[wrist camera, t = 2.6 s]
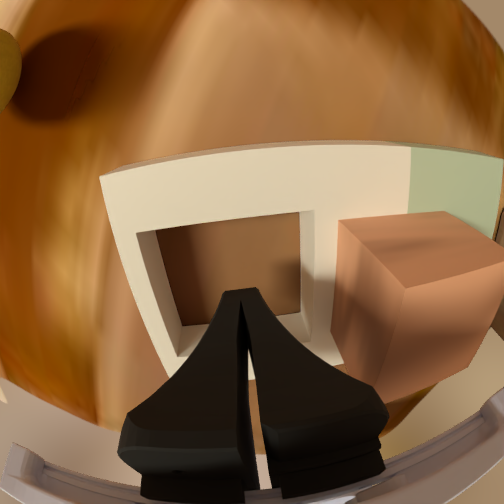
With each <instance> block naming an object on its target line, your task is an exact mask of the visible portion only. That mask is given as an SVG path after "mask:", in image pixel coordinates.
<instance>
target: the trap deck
mask: <svg viewBox="0 0 504 504" xmlns="http://www.w3.org/2000/svg"><path fill="white" fill-rule="evenodd" d="M502 174H503V159H500V158H497V157H494V156H491V155H488V154H484V153H481V152H477V151H472V150H466V149H460V148H453V147H445V146H437V145H428V144H418V143H406V142H391V141H368V140H316V141H292V142H276V143H263V144H252V145H242V146H233V147H225V148H217V149H210V150H203V151H196V152H190V153H184V154H178V155H173V156H167V157H162V158H157V159H152V160H147V161H142V162H138V163H133V164H129V165H125V166H121V167H119V168H117V169H115V170H112V171H110V172H108V173H106V174H104V175H102V176H100V182H101V187H102V191H103V196H104V200H105V204H106V208H107V212H108V216H109V220H110V224H111V227H112V231H113V234H114V238H115V241H116V245H117V248H118V251H119V254H120V258H121V261H122V264H123V267H124V270H125V273H126V276H127V279H128V282H129V284H130V287H131V290H132V293H133V295H134V298H135V301H136V303H137V306H138V308H139V311H140V314H141V316H142V318H143V321H144V323H145V326H146V328H147V331H148V333H149V335H150V337H151V340H152V342H153V344H154V346H155V349H156V351H157V353H158V355H159V357H160V359H161V362H162V364H163V366H164V368H165V370H166V372H167V374H168V376H169V378H171V377H172V376H173V374H174V373H175V372H176V371H177V370H178V369H179V368H180V367H181V365H182V364H183V363H184V362H185V361H186V359H187V358H188V357H189V355H190V354H191V353H192V351H193V350H194V349H195V347H196V346H197V344H198V343H199V341H200V340H201V338H202V336H203V335H204V333H205V331H206V329H207V328H208V326H209V324H203V325H192V326H182V324H181V321H180V318H179V314H178V311H177V308H176V305H175V302H174V298H173V295H172V292H171V288H170V285H169V281H168V278H167V274H166V271H165V267H164V263H163V259H162V256H161V252H160V248H159V244H158V240H157V236H156V231H155V230H157V229H164V228H170V227H177V226H184V225H191V224H199V223H206V222H214V221H222V220H229V219H238V218H246V217H254V216H263V215H272V214H281V213H291V212H299V214H300V256H301V312H299V313H293V314H286V315H279V316H276V317H277V319H278V320H279V321H280V322H281V323H282V325H283V326H284V327H285V328H286V329H287V330H288V331H289V332H290V333H291V334H292V335H293V336H294V337H295V338H296V339H297V340H298V341H299V342H300V343H302V344H303V345H304V346H305V347H306V348H308V349H309V350H310V351H311V352H313V353H314V354H315V355H317V356H318V357H320V358H321V359H322V360H324V361H325V362H327V363H328V364H330V365H331V366H334V365H338V364H342V363H344V362H343V359H342V357H341V355H340V353H339V350H338V348H337V346H336V343H335V341H334V339H333V337H332V334H331V332H330V328H331V319H332V310H333V299H334V288H335V275H336V259H337V239H338V220H342V219H352V218H363V217H374V216H385V215H397V214H409V213H422V212H435V211H445V212H447V213H449V214H451V215H452V216H454V217H456V218H458V219H459V220H461V221H463V222H464V223H466V224H468V225H469V226H471V227H473V228H474V229H476V230H478V231H479V232H481V233H482V234H484V235H485V236H487V237H489V238H490V239H492V237H493V232H494V227H495V222H496V217H497V212H498V206H499V199H500V192H501V184H502ZM251 379H255V375H254V371H253V367H252V362H251V358H250V354H249V349H248V380H251Z"/></svg>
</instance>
